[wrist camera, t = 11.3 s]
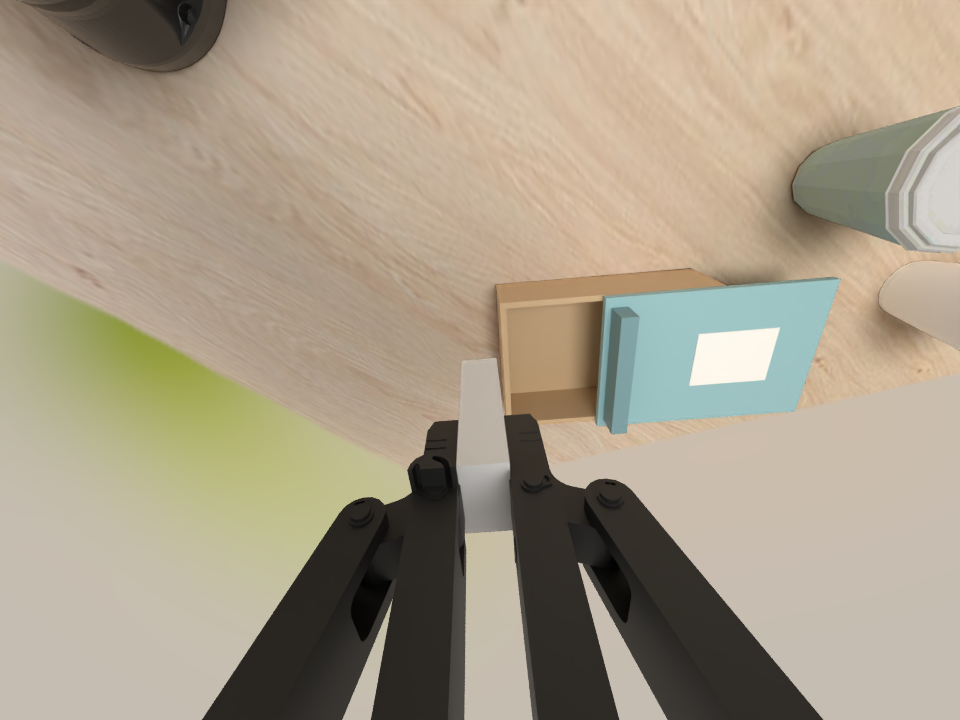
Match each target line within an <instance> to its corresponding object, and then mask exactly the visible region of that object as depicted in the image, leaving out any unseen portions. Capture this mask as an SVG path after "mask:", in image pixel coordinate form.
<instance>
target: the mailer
mask: <svg viewBox="0 0 960 720" xmlns="http://www.w3.org/2000/svg"><path fill="white" fill-rule="evenodd" d="M717 286H725V284H723V283H721V282H718V281H716V280H714V279H712V278H710V277H708V276H706V275H703V274H701V273H699V272H697V271H695V270H693V269H691V268H688V269H676V270H664V271H652V272H640V273H628V274H616V275H604V276H592V277H580V278H568V279H556V280H544V281H532V282H520V283H508V284H496V293H497V309H498V325H499V341H500V357H501V373H502V389H503V400H504V408H505V415H518V414H531V415H532V417H533V418H534V419H535V420H536V421H537V422H538V425H543V424H556V423H570V422H583V421H595V418H596V403H597V388H598V373H599V358H600V343H601V328H602V313H603V298H604V296H608V295H620V294H632V293H644V292H657V291H669V290H681V289H693V288H705V287H717Z"/></svg>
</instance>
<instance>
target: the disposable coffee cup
mask: <svg viewBox="0 0 960 720" xmlns="http://www.w3.org/2000/svg"><path fill="white" fill-rule="evenodd" d="M792 189H793V198H794V201H795V202H796V203H797V204H798V205H799V206H800V207H801V208H802V209H803V210H804V211H805V212H806V213H809V214H812V215H814V216H817V217H820V218H823V219H826V220H829V221H832V222H835V223H838V224H841V225H843V226H846V227H849V228H852V229H855V230H858V231H861V232H864V233H867V234H870V235H872V236H875V237H878V238H881V239H884V240H887V241H890V242H893V243H896V244H899V245H901V246H902V247H903V248H904V249H905V250H911V251H922V252H933V253H941V252H945V253H954V252H957V251H959V250H960V106H958V107H954V108H951V109H947V110H944V111H940V112H936V113H933V114H929V115H926V116H922V117H919V118H915V119H912V120H908V121H904V122H901V123H897V124H894V125H890V126H887V127H883V128H880V129H876V130H872V131H869V132H865V133H862V134H858V135H855V136H851V137H847V138H844V139H840V140H837V141H835V142H833V143H830V144H828V145H826V146H824V147H822V148H819V149H817V151H815V152H813V153H812V154H811V155H810V156H809V157H808V158H807V159H806V160H805V161H804V162H803V163H802V164H801V165H800V167H799V168H798V171H797V173H796V176H795V178H794V181H793V183H792Z"/></svg>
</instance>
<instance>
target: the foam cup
mask: <svg viewBox="0 0 960 720" xmlns="http://www.w3.org/2000/svg"><path fill="white" fill-rule="evenodd" d="M879 304H880V306H881V307H882V309H883V310H884V311H886V312H888V313H889V314H891V315H893V316H895V317H897V318H898V319H900V320H902V321H904V322H906V323H908V324H910V325H912V326H914V327H916V328H917V329H919V330H921V331H923V332H925V333H927V334H929V335H931V336H933V337H935V338H936V339H938V340H940V341H942V342H944V343H946V344H948V345H950V346H952V347H954V348H955V349H957V350H959V351H960V263H949V262H937V261H918V262H911V263H909V264H907V265H905V266H903V267H901V268H899V269H897V270H896V271H895V272H894V273H893V274H892V275H891V276H890V277H889V278H888V279H887V280H886V281H885V283H884V285H883V287H882V288H881V290H880V292H879Z"/></svg>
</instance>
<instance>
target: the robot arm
mask: <svg viewBox="0 0 960 720" xmlns="http://www.w3.org/2000/svg"><path fill="white" fill-rule="evenodd" d="M18 1H20V2H23V3H26V4H28V5H31V6H32V7H34V8H35V9H37V10H38V11H39V12H41V13H42V14H44V15H45V16H46V17H48V18H49V19H51V20H52V21H53V22H55V23H56V24H58V25H59V26H61V27H62V28H64V29H65V30H66V31H67V32H69V33H70V34H71V35H72V36H73V37H75V38H76V39H77V40H79V41H80V42H81V43H83V44H84V45H86V46H87V47H89V48H91V49H92V50H94V51H96V52H98V53H100V54H102V55H104V56H106V57H108V58H110V59H113V60H115V61H118V62H121V63H124V64H128V65H131V66H134V67H138V68H141V69H145V70H150V71H161V72H165V71H174V70H179V69H182V68H185V67H187V66H189V65H191V64H193V63H195V62H196V61H198V60H199V59H200V58H201V57H202V56H203V55H204V54H206V52H207V51H208V50H209V49H210V47H211V46H212V44H213V43H214V41H215V39H216V37H217V35H218V33H219V31H220V28H221V25H222V21H223V17H224V11H225V3H226V0H18ZM407 471H408V475H409V480H410V484H411V489H412V493H411V494H409V495H408V496H406V497H405V498H403V499H400V500H398V501H395V502H393V503H390V504H386V505H384V504H383V503H382V502H381V501H380V500H379V499H376V498H373V497H370V498H369V497H367V498H361V499H358V500H355V501H353V502H351V503H350V504H348V505H347V506H346V507H345V508H344V509H343V510H342V511H341V512H340V513H339V515H338V516H337V518H336V519H335V521H334V522H333V524H332V525H331V527H330V528H329V530H328V531H327V533H326V534H325V536H324V537H323V539H322V540H321V542H320V543H319V545H318V546H317V548H316V549H315V551H314V552H313V554H312V555H311V557H310V558H309V560H308V561H307V563H306V564H305V566H304V567H303V569H302V570H301V572H300V573H299V575H298V576H297V578H296V579H295V581H294V582H293V584H292V585H291V587H290V588H289V590H288V591H287V593H286V594H285V596H284V597H283V599H282V600H281V602H280V603H279V605H278V606H277V608H276V609H275V611H274V612H273V614H272V615H271V617H270V618H269V620H268V621H267V623H266V624H265V626H264V627H263V629H262V630H261V632H260V633H259V635H258V636H257V638H256V639H255V641H254V643H253V644H252V646H251V647H250V648H249V650H248V651H247V653H246V654H245V656H244V657H243V659H242V660H241V662H240V664H239V665H238V667H237V668H236V670H235V671H234V672H233V674H232V676H231V677H230V679H229V680H228V682H227V683H226V685H225V686H224V688H223V689H222V691H221V692H220V694H219V695H218V697H217V698H216V700H215V701H214V703H213V704H212V706H211V707H210V709H209V710H208V712H207V713H206V715H205V716H204V718H203V719H202V720H342V719H343V716H344V714H345V712H346V709H347V707H348V704H349V702H350V699H351V697H352V695H353V692H354V690H355V688H356V685H357V683H358V680H359V678H360V676H361V673H362V671H363V668H364V666H365V664H366V661H367V659H368V656H369V654H370V651H371V649H372V647H373V644H374V642H375V639H376V637H377V635H378V632H379V630H380V628H381V625H382V623H383V620H384V618H385V615H386V613H387V611H388V608H389V606H390V603H391V601H392V599H393V601H392V606H391V612H390V618H389V623H388V629H387V634H386V639H385V645H384V651H383V656H382V662H381V667H380V673H379V678H378V684H377V689H376V695H375V700H374V706H373V712H372V717H371V720H464V692H465V610H466V607H465V604H466V603H465V602H466V545H465V533H479V532H492V531H507V530H513V535H514V551H515V563H516V567H517V577H518V586H519V595H520V605H521V614H522V623H523V633H524V642H525V651H526V660H527V669H528V679H529V689H530V697H531V707H532V716H533V720H619V717H618V713H617V709H616V706H615V702H614V698H613V694H612V691H611V687H610V683H609V679H608V676H607V671H606V668H605V664H604V660H603V656H602V652H601V649H600V645H599V641H598V638H597V633H596V630H595V626H594V622H593V618H592V615H591V611H590V607H589V603H588V600H587V596H586V592H585V588H584V584H583V581H582V577H581V573H580V569H579V565H578V562H579V563H583V566H584V568H585V570H586V572H587V574H588V575H589V577H590V579H591V581H592V583H593V585H594V587H595V588H596V590H597V592H598V594H599V596H600V597H601V599H602V601H603V603H604V605H605V607H606V608H607V610H608V612H609V614H610V616H611V617H612V619H613V621H614V623H615V625H616V627H617V628H618V630H619V632H620V634H621V636H622V638H623V639H624V641H625V643H626V645H627V647H628V648H629V650H630V652H631V654H632V656H633V658H634V659H635V661H636V663H637V665H638V667H639V668H640V670H641V672H642V674H643V676H644V678H645V679H646V681H647V683H648V685H649V686H650V689H651V690H652V692H653V694H654V695H655V698H656V699H657V701H658V703H659V705H660V707H661V708H662V710H663V712H664V714H665V716H666V718H667V719H668V720H823V719H822V718H821V717H820V715H819V714H818V713H817V712H816V711H815V709H814V708H813V707H812V706H811V704H810V703H809V702H808V701H807V700H806V699H805V697H804V696H803V695H802V694H801V693H800V692H799V690H798V689H797V688H796V686H795V685H794V684H793V683H792V682H791V681H790V679H789V678H788V677H787V676H786V675H785V673H784V672H783V671H782V670H781V669H780V667H779V666H778V665H777V664H776V663H775V662H774V660H773V659H772V658H771V657H770V655H769V654H768V653H767V652H766V651H765V649H764V648H763V647H762V646H761V645H760V643H759V642H758V641H757V640H756V639H755V637H754V636H753V635H752V634H751V633H750V632H749V630H748V629H747V628H746V627H745V625H744V624H743V623H742V622H741V621H740V619H739V618H738V617H737V616H736V615H735V614H734V612H733V611H732V610H731V609H730V608H729V606H728V605H727V604H726V603H725V601H723V599H722V598H721V597H720V596H719V594H718V593H717V592H716V591H715V589H714V588H713V587H712V586H711V585H710V584H709V582H708V581H707V580H706V579H705V578H704V576H703V575H702V574H701V573H700V572H699V570H698V569H697V568H696V567H695V566H694V565H693V563H692V562H691V561H690V560H689V558H688V557H687V556H686V555H685V554H684V552H683V551H682V550H681V549H680V548H679V546H678V545H677V544H676V543H675V542H674V540H673V539H672V538H671V537H670V536H669V535H668V533H667V532H666V531H665V530H664V528H663V527H662V526H661V525H660V524H659V522H658V521H657V520H656V519H655V518H654V516H653V515H652V514H651V513H650V512H649V511H648V509H647V508H646V507H645V506H644V504H643V503H642V502H641V501H640V500H639V498H638V497H637V496H636V495H635V494H634V493H633V491H632V490H631V489H630V488H628V487H627V486H626V485H625V484H623V483H620V482H618V481H616V480H611V479H598V480H595V481H594V482H591V483H590V484H589V485H588V486H587V488H586V489H583V488H577V487H572V486H569V485H566V484H564V483H562V482H560V481H559V480H557V479H556V478H555V477H554V476H553V475H552V473H551V471H550V469H549V465H548V461H547V457H546V453H545V449H544V445H543V441H542V437H541V434H540V430H539V426H538V422H537V421H536V420H535V419H534V418H533V417H532V415H531V414H518V415H505V416H504V414H503V406H502V398H501V390H500V383H499V375H498V367H497V359H496V358H487V359H475V360H462V366H461V385H460V403H459V420H452V421H439V422H434V423H433V425H432V426H431V427H430V429H429V430H428V432H427V438H426V444H425V451H424V455H423V456H421V457H419V458H416V459H415V460H414V461H413V462H412V463H411V464H410V466H409V468H408V470H407Z"/></svg>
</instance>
